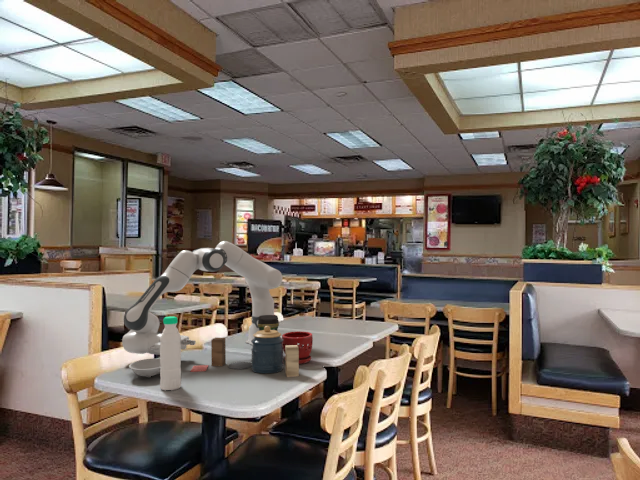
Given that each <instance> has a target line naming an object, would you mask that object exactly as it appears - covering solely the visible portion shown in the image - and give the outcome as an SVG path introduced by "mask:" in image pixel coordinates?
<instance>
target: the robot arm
mask: <svg viewBox="0 0 640 480" xmlns="http://www.w3.org/2000/svg"><path fill="white" fill-rule="evenodd" d="M224 266H226V267H227V268H229V269H230V270H231V271H233V272H235V273H236V274H237V275H239V276H240V277H243V279H244V281H245V283H246V284H247V286H248V289H249V292H250V296H251V302H252V303H251V305H252V308H251V310H252V315H251V324H250V325H249V327H248V339H246V340H245V343H246V344H249V345H252V342H251V340H252V339H254V336H253V334H255V333H256V332H257V331H259V327H258V319H259V316H262V315H275V300H274V298H273V296H272V294H271V293H270V292H271V291H270V290H274V289H277V288H279V287H280V286H281V285H282V283H283V274H282V272H281V271H280V270H279V269H277V268H274V267H272V266H270V265H268V264H267V263H265V262H263V261H261V260H260V259H257V258H256V257H254V256H252V255H251V254H249V253H248V252H246V251H245V250H243V249H242V248H241V247H239V246H237V245H236V244H234V243H232V242H230V241H227V240H222V241H220V242H219V243H218V244H217V245H216V246H215V247H214V248H213V247H198V248H197V249H194V250H192V251H191V250H187V249H185V250H181V251H180V252H179V253H178V254H177V255H176V256H175V257H174V258H173V259H172V261H171V262H170V264H169V265H168V266H167V268H166V269H165V270H164V272H163V273H162V274H161V275H160V276H158V277H157V278H156V279H154V281H153V282H152V283H151V284H150V285H149V286H148V288H147V289H146V290H145V292H143V294H142V295H141V296H140V298H139V299H138V300H137V301H136V302H135V303H134V304H133V305H131V306H130V307H129V308H128V309H127V310H126V311H125V313H124V315H123V323H124V326H125V327H126V328H127V329H128V330H129V331H128V332H127V333H125V334H124V335H123V336H122V341H121V343H122V347H123V349H124V351H125V352H128V353H130V354H137V355H138V354H139V355H143V354H144V355H145V354H149V355H160V345H161V342H160V337H161V334H162V333H163V332H162V333H158V332H159V328H160V325H161V324H160V323H161V322H160V318H158V316H156V315H155V314H153V313H152V312H150V311H151V309H152V308H153V306H154V305H155V304H156V303H157V301H158V299H160V297H161V296H163V295H164V294H166V293H169V292H171V293H173V292H174V293H175V292H179V291H181V290H183V288H184V287H185V286H186V285H187V283H188V282H189V280H190V279H191V277H192V276H193V274H194V273H195V272H196V271H197V270H198V271H203V272H211V273H214V272H218V271H220V270H221V269H223V267H224ZM180 336H181V340H180V343H181V351H182V350H186V349H187V346H188V345H189V346H194V345H196V344H197V342H196V340H192V339H190V337H189V336H188V335H183V334H180ZM280 337H281V338H282V335H281V336H280Z"/></svg>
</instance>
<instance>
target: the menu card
mask: <svg viewBox="0 0 640 480" xmlns="http://www.w3.org/2000/svg"><path fill="white" fill-rule="evenodd" d="M209 366H210V365H208V364H207V365H206V364H202V365H193V366H192V368H191V370H190V372H191V373H198V372H200V373H201V372H207V370H208V367H209Z"/></svg>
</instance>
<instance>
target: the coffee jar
mask: <svg viewBox="0 0 640 480" xmlns="http://www.w3.org/2000/svg"><path fill="white" fill-rule="evenodd" d="M279 321H280V320H279V317H278V315H276V314H274V315H262V316H259V319H258V327H259V331H261V330H264V327H265V326H269V327H270V330H276V331H278V332H279V326H280V322H279Z"/></svg>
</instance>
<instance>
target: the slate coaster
mask: <svg viewBox="0 0 640 480" xmlns="http://www.w3.org/2000/svg"><path fill="white" fill-rule="evenodd" d="M251 363H252V361H251V362H250V361H234V362H232V363H228V368H229V369H233V370H246V369H251Z"/></svg>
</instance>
